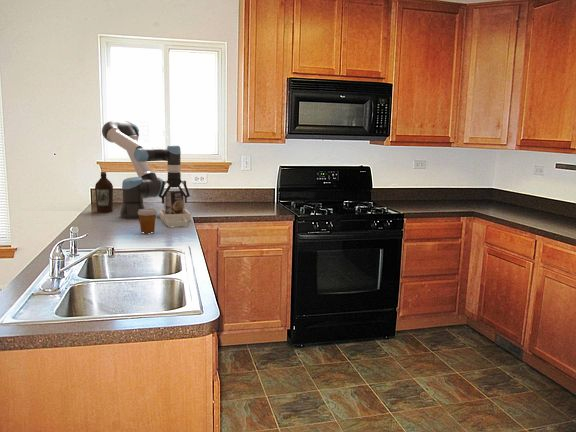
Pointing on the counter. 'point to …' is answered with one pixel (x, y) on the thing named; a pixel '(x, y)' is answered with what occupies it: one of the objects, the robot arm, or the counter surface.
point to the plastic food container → (175, 215)
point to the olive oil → (104, 194)
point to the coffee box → (174, 202)
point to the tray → (176, 221)
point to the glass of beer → (147, 220)
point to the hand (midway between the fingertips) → (174, 208)
